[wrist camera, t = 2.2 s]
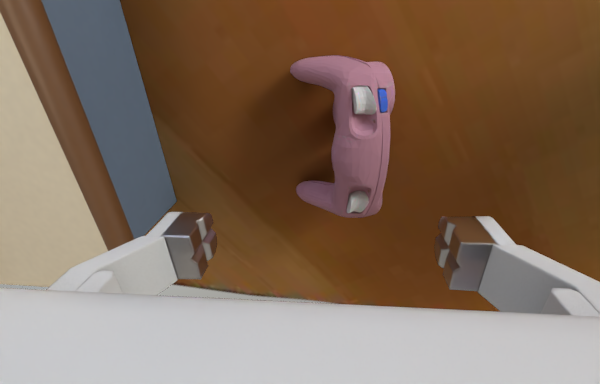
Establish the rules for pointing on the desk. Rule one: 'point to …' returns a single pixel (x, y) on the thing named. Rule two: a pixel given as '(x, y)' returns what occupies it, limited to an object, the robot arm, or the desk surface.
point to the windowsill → (72, 139)
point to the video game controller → (352, 133)
